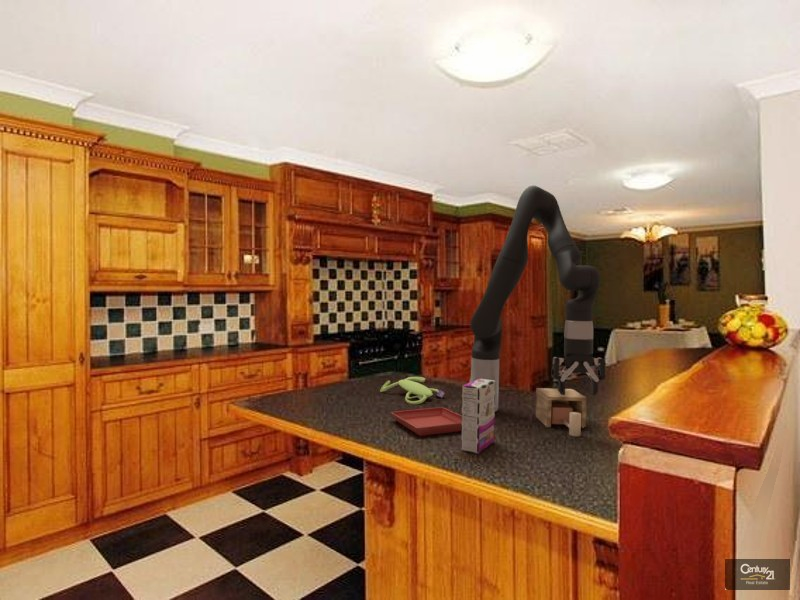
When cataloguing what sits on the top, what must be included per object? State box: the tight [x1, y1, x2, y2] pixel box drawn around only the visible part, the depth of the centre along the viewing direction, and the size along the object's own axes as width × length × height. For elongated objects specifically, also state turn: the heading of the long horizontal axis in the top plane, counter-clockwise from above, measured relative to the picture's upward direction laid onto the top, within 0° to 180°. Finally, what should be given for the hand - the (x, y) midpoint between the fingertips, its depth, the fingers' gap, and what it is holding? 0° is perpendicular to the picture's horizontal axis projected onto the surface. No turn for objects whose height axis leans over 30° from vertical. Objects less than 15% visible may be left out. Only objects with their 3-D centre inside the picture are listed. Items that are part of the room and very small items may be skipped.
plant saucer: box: [391, 407, 462, 437], centre depth 137 cm, size 18×18×3 cm
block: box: [551, 403, 582, 437], centre depth 139 cm, size 6×18×6 cm, turn 179°
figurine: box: [379, 376, 446, 405], centre depth 177 cm, size 18×27×6 cm
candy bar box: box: [460, 379, 496, 455], centre depth 120 cm, size 11×5×16 cm, turn 148°
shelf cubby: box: [534, 387, 588, 429], centre depth 145 cm, size 11×12×9 cm
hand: (577, 394), depth 132 cm, fingers open, 8 cm apart
